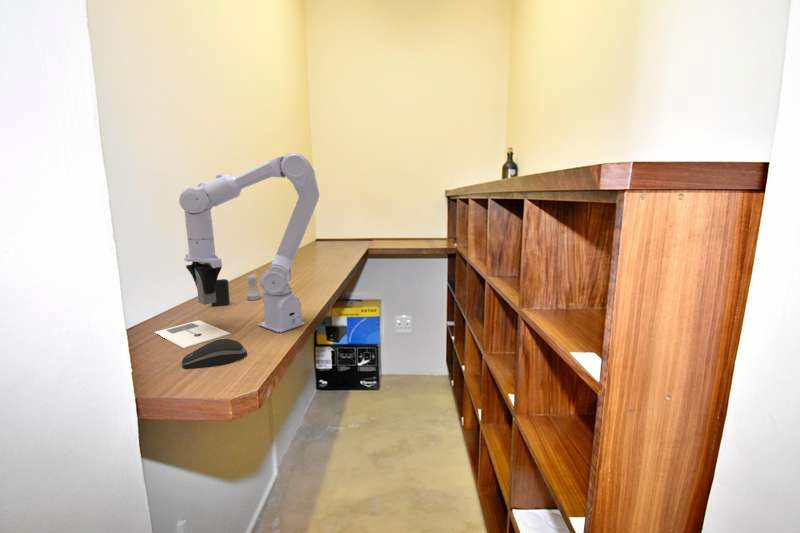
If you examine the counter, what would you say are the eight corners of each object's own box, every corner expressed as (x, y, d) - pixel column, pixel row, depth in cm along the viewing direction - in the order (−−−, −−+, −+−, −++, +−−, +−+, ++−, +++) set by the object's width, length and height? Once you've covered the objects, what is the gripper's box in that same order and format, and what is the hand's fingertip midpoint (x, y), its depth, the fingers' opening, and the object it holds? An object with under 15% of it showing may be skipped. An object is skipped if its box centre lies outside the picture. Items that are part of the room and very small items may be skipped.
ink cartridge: (230, 303, 120) (228, 278, 118) (229, 305, 118) (227, 280, 116) (212, 304, 119) (210, 279, 117) (211, 306, 116) (209, 281, 115)
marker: (216, 302, 97) (213, 267, 95) (204, 304, 94) (200, 269, 92) (210, 299, 99) (207, 265, 97) (198, 302, 96) (194, 267, 94)
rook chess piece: (256, 301, 122) (254, 276, 121) (243, 300, 123) (241, 276, 122) (263, 297, 126) (262, 273, 125) (251, 296, 127) (249, 273, 126)
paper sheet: (230, 334, 94) (230, 332, 94) (183, 348, 85) (183, 347, 85) (199, 321, 103) (198, 319, 103) (154, 333, 95) (153, 331, 95)
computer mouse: (183, 359, 80) (181, 342, 79) (245, 349, 86) (244, 332, 85) (181, 374, 74) (178, 354, 73) (248, 361, 79) (246, 343, 79)
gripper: (170, 238, 94) (177, 291, 97) (197, 242, 86) (204, 300, 88) (199, 235, 100) (205, 285, 103) (228, 239, 91) (233, 294, 94)
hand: (206, 292), depth 96 cm, fingers closed on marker, 3 cm apart
